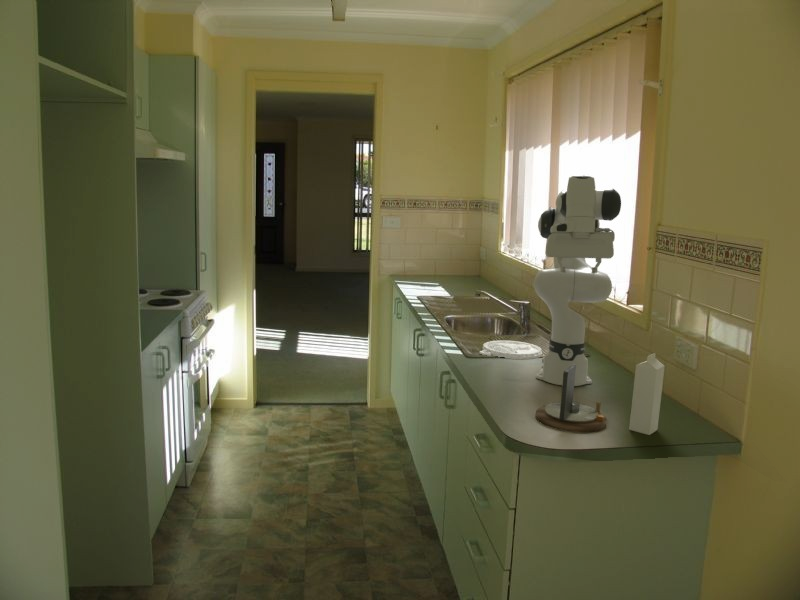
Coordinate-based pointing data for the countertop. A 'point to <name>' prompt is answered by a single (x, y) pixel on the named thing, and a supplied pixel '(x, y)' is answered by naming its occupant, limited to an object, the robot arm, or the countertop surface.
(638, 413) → the milk
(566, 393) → the grey finned round piece
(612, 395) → the countertop surface
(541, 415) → the post base
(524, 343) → the medallion
